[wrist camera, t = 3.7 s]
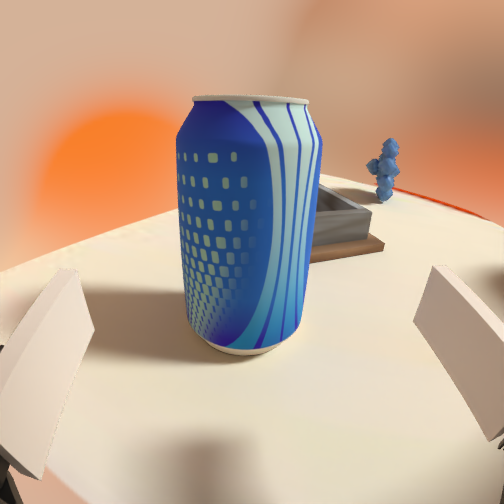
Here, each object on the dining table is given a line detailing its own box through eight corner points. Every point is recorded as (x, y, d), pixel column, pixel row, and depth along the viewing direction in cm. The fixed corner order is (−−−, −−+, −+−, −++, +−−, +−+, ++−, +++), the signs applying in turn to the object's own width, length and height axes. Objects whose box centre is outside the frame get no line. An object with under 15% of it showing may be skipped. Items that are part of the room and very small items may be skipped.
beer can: (170, 313, 24) (155, 99, 17) (254, 282, 29) (262, 99, 21) (228, 382, 18) (227, 92, 11) (321, 331, 23) (355, 105, 15)
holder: (383, 250, 35) (390, 216, 33) (260, 271, 30) (262, 228, 28) (317, 206, 49) (320, 179, 47) (219, 215, 44) (219, 184, 42)
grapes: (365, 188, 62) (371, 133, 57) (395, 194, 60) (403, 139, 54) (358, 201, 53) (366, 135, 47) (394, 209, 50) (405, 143, 45)
